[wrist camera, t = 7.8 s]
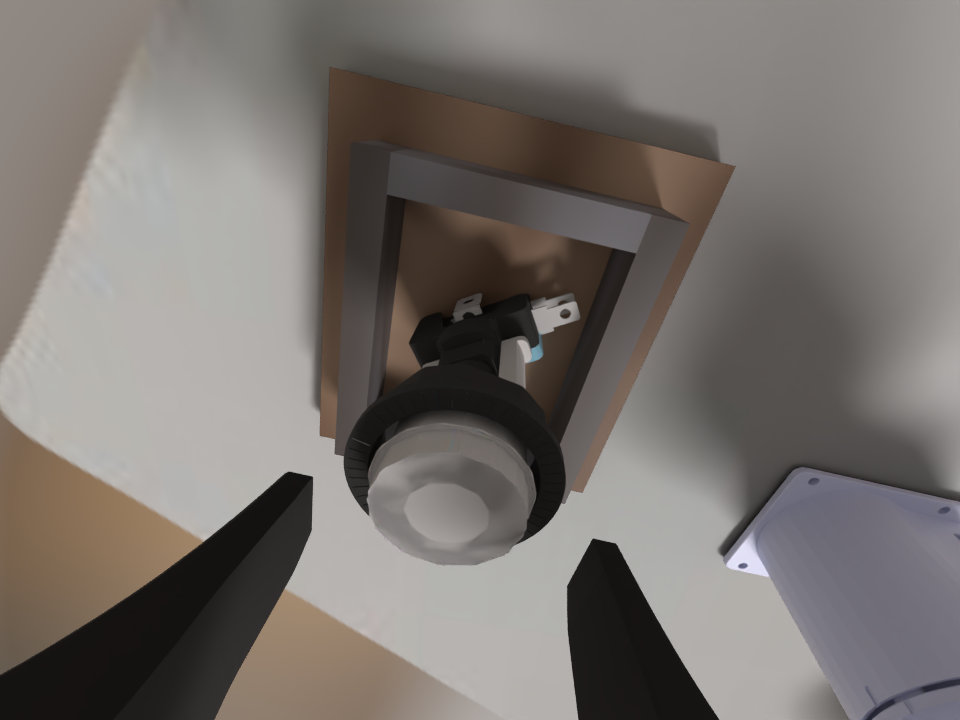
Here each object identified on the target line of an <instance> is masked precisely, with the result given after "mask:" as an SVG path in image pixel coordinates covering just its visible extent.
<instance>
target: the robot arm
mask: <svg viewBox="0 0 960 720" xmlns="http://www.w3.org/2000/svg"><path fill="white" fill-rule="evenodd" d="M312 496H313V477H311V476H307V475H302V474H298V473H293V472H287V473H285V474H284V475H283V476H282V477H280V478H279V479H278V480H277V481H276V482H275V483H274V484H273V485H271V486H270V487H269V488H268V489H267V490H266V491H265V492H264V493H262V494H261V495H260V496H259V497H258V498H257V499H256V500H254V501H253V502H252V503H251V504H250V505H248V506H247V507H246V508H245V509H244V510H243V511H241V512H240V513H239V514H238V515H237V516H235V517H234V518H233V519H232V520H230V521H229V522H228V523H227V524H226V525H224V526H223V527H222V528H221V529H219V530H218V531H217V532H216V533H214V534H213V535H212V536H211V537H209V538H208V539H207V540H206V541H204V542H203V543H202V544H201V545H199V546H198V547H197V548H195V549H194V550H193V551H191V552H190V553H188V554H187V555H186V556H184V557H183V558H182V559H181V560H179V561H178V562H176V563H175V564H174V565H172V566H171V567H170V568H168V569H167V570H166V571H164V572H163V573H162V574H160V575H159V576H158V577H156V578H155V579H153V580H152V581H150V582H149V583H147V584H146V585H145V586H143V587H142V588H140V589H139V590H137V591H136V592H134V593H133V594H131V595H130V596H129V597H127V598H125V599H124V600H123V601H121V602H119V603H118V604H117V605H115V606H114V607H112V608H110V609H109V610H107V611H106V612H104V613H103V614H101V615H100V616H98V617H96V618H95V619H93V620H92V621H90V622H89V623H87V624H85V625H84V626H82V627H81V628H79V629H77V630H76V631H74V632H73V633H71V634H69V635H67V636H66V637H64V638H63V639H61V640H60V641H58V642H56V643H55V644H53V645H51V646H50V647H48V648H46V649H45V650H43V651H41V652H40V653H38V654H36V655H35V656H33V657H31V658H29V659H28V660H26V661H24V662H23V663H21V664H19V665H17V666H16V667H14V668H12V669H10V670H8V671H7V672H5V673H3V674H1V675H0V720H214V719H215V717H216V715H217V713H218V711H219V709H220V707H221V704H222V702H223V700H224V698H225V696H226V694H227V692H228V689H229V688H230V686H231V684H232V682H233V680H234V678H235V676H236V674H237V672H238V670H239V668H240V667H241V665H242V663H243V661H244V659H245V658H246V656H247V654H248V653H249V651H250V649H251V647H252V645H253V644H254V642H255V640H256V638H257V637H258V635H259V633H260V631H261V629H262V628H263V626H264V624H265V622H266V620H267V619H268V617H269V615H270V613H271V612H272V610H273V608H274V606H275V605H276V603H277V601H278V599H279V597H280V596H281V594H282V592H283V590H284V588H285V587H286V585H287V583H288V581H289V579H290V578H291V576H292V574H293V572H294V570H295V568H296V566H297V563H298V561H299V559H300V556H301V554H302V552H303V550H304V547H305V545H306V542H307V540H308V538H309V535H310V533H311V531H312ZM723 561H724V563H725V565H726V567H727V568H730V569H734V570H739V571H743V572H748V573H753V574H757V575H762V576H767V577H770V578H771V580H772V582H773V583H774V585H775V587H776V589H777V591H778V592H779V594H780V596H781V598H782V600H783V601H784V603H785V605H786V607H787V609H788V610H789V612H790V614H791V616H792V618H793V619H794V621H795V623H796V625H797V626H798V628H799V630H800V632H801V634H802V635H803V637H804V639H805V641H806V643H807V644H808V646H809V648H810V650H811V652H812V653H813V655H814V657H815V659H816V661H817V662H818V664H819V666H820V668H821V669H822V671H823V673H824V675H825V677H826V678H827V680H828V682H829V684H830V686H831V687H832V689H833V691H834V693H835V695H836V696H837V698H838V700H839V702H840V704H841V705H842V707H843V709H844V711H845V712H846V714H847V716H848V718H849V720H960V502H958V501H954V500H949V499H945V498H940V497H936V496H931V495H927V494H922V493H918V492H914V491H909V490H905V489H900V488H896V487H891V486H887V485H882V484H878V483H873V482H869V481H864V480H860V479H855V478H851V477H846V476H842V475H837V474H833V473H828V472H824V471H820V470H815V469H811V468H806V467H800V468H797V469H795V470H793V471H792V472H791V473H790V475H789V476H788V477H787V478H786V480H785V481H784V482H783V483H782V485H781V486H780V487H779V488H778V490H777V491H776V492H775V493H774V495H773V496H772V497H771V499H770V500H769V501H768V502H767V504H766V505H765V506H764V507H763V509H762V510H761V511H760V512H759V514H758V515H757V516H756V517H755V519H754V520H753V521H752V523H751V524H750V525H749V526H748V528H747V529H746V530H745V531H744V533H743V534H742V535H741V536H740V538H739V539H738V540H737V541H736V543H735V544H734V545H733V547H732V548H731V549H730V550H729V552H728V553H727V554H726V555H725V557H724V558H723ZM567 617H568V636H569V645H570V654H571V662H572V671H573V679H574V687H575V695H576V703H577V711H578V719H579V720H719V719H718V717H717V716H716V714H715V713H714V711H713V710H712V708H711V707H710V705H709V704H708V702H707V701H706V699H705V697H704V696H703V694H702V693H701V691H700V690H699V688H698V687H697V685H696V683H695V682H694V680H693V679H692V677H691V675H690V674H689V672H688V671H687V669H686V667H685V666H684V664H683V663H682V661H681V659H680V658H679V656H678V654H677V653H676V651H675V649H674V648H673V646H672V644H671V642H670V641H669V639H668V637H667V635H666V634H665V632H664V630H663V629H662V627H661V625H660V623H659V622H658V620H657V618H656V616H655V615H654V613H653V611H652V609H651V607H650V606H649V604H648V602H647V600H646V598H645V596H644V595H643V593H642V591H641V589H640V587H639V585H638V584H637V582H636V580H635V578H634V576H633V574H632V572H631V570H630V569H629V567H628V565H627V563H626V561H625V559H624V557H623V555H622V553H621V552H620V550H619V548H618V546H617V545H616V544H615V543H611V542H606V541H602V540H597V539H592V541H591V543H590V545H589V547H588V548H587V550H586V552H585V554H584V556H583V558H582V560H581V561H580V563H579V565H578V567H577V569H576V571H575V573H574V574H573V576H572V578H571V580H570V582H569V584H568V586H567Z"/></svg>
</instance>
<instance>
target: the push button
mask: <svg viewBox="0 0 960 720" xmlns="http://www.w3.org/2000/svg"><path fill="white" fill-rule="evenodd" d="M482 296H483V295H482V293H478V294H475V295H472V296H469V297H466V298H463V299H461V300H459V301H457V304H456V306H455V309H454V313H453V316H452V317H449V318H446V319H444V317H443V315H442V313H440V312H438V313H434V314H431V315H428V316H426V317H424V318H422V319H421V320H420V322H419V324H418V325H417V327H416V329H415V331H414V333H413V335H412V337H411V339H410V341H409V345H410V347H411V349H412V351H413V353H414V355H415V357H416V359H417V361H418V363H419V365H420V367H421V369H420V370H419V371H418V372H416V373H415V374H413V375H412V376H410V377H409V378H408V379H406V380H405V381H403V382H402V383H400V384H399V385H397V386H396V387H395V388H393V389H392V390H390V391H389V392H387V393H386V394H385V395H383V396H381V397H380V398H378V399H377V400H376V401H375V402H373V403H372V404H371V405H370V406H369V407H368V408H367V409H366V410H365V411H364V412H363V413H362V415H361V416H360V418H359V419H358V421H357V422H356V424H355V426H354V428H353V430H352V432H351V434H350V436H349V438H348V440H347V443H346V447H345V452H344V471H345V476H346V480H347V483H348V485H349V488H350V490H351V492H352V494H353V496H354V498H355V499H356V501H357V502H358V504H359V505H360V506H361V508H362V509H363V510H364V511H365V512H366V513H367V514H368V515H369V517H370V518H371V520H372V521H373V523H374V525H375V528H376V529H377V530H378V531H379V532H380V533H381V534H382V536H383V537H384V539H385V540H386V541H388V542H390V543H391V544H393V545H394V546H396V547H397V548H398V549H399V550H400V551H401V552H403V553H406V554H408V555H409V556H411V557H414V558H418V559H421V560H425V561H428V562H431V563H434V564H437V565H443V566H456V565H478V564H481V563H484V562H486V561H489V560H492V559H495V558H498V557H501V556H504V555H505V554H506V553H508V552H509V551H510V550H511V548H512V547H513V546H514V545H516V544H518V543H520V542H523V541H525V540H527V539H528V538H530V537H532V536H533V535H535V534H536V533H537V532H539V531H540V530H541V529H542V528H543V527H545V526H546V525H547V524H548V523H549V521H550V520H551V519H552V518H553V517H554V515H555V513H556V512H557V510H558V509H559V506H560V504H561V502H562V499H563V496H564V493H565V486H566V473H565V466H564V458H563V454H562V450H561V447H560V445H559V442H558V440H557V438H556V436H555V434H554V433H553V431H552V429H551V428H550V427H549V426H548V424H547V423H546V415H545V412H544V410H543V409H542V408H541V407H540V406H539V404H538V403H537V402H536V401H535V400H534V399H533V397H532V396H531V395H530V394H529V393H528V392H527V390H526V386H525V363H529V362H533V361H536V360H538V359H540V358H541V357H543V346H542V337H541V335H542V334H546V333H549V332H552V331H554V329H553V327H557V326H560V325H564V324H567V323H570V322H574V321H577V320H579V319H580V314H579V310H578V306H577V303H576V301H575V297H574V294H573V293H571V292H570V293H567V294H564V295H560V296H557V297H554V298H551V299H548V300H546V299H545V297H542V298H539V299H536V300H533V301H531V300H530V297H529V294H526V293H525V294H518V295H515V296H512V297H510V298H508V299H505V300H502V301H499V302H496V303H493V304H489V305H486V306H483V307H480V304H481V300H482ZM469 300H473V301H471V302H469V303H466V304H464V303H465V302H467V301H469ZM562 300H565V301H567V303H564V304H561V305H558V303H559V302H560V301H562ZM570 312H571V314H570V316H569V317H568V318H562V317H561V316H560V315H564V314H567V313H570ZM399 420H400V421H399ZM397 421H399V423H398V426H397V428H396V430H395V433H394V435H393V438H391V439H390V440H389V441H387V442H386V436H385V430H386V429H387V428H388V427H390V426H391V425H392V424H394V423H396V422H397ZM527 447H528V448H529V449H530V451H531V452H532V454H533V456H534V457H535V458H534V461H533V463H532V464H531V466H530V467H529V466H528V465H527Z"/></svg>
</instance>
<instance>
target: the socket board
mask: <svg viewBox="0 0 960 720" xmlns="http://www.w3.org/2000/svg"><path fill="white" fill-rule="evenodd" d="M735 167H736V166H732V165H728V164H724V163H720V162H716V161H712V160H708V159H703V158H699V157H695V156H691V155H687V154H683V153H679V152H675V151H671V150H667V149H663V148H659V147H655V146H650V145H646V144H642V143H638V142H634V141H630V140H626V139H622V138H618V137H614V136H610V135H606V134H601V133H597V132H593V131H589V130H585V129H581V128H577V127H573V126H569V125H565V124H561V123H557V122H553V121H548V120H544V119H540V118H536V117H532V116H528V115H524V114H520V113H516V112H512V111H508V110H504V109H499V108H495V107H491V106H487V105H483V104H479V103H475V102H471V101H467V100H463V99H459V98H455V97H451V96H446V95H442V94H438V93H434V92H430V91H426V90H422V89H418V88H414V87H410V86H406V85H402V84H397V83H393V82H389V81H385V80H381V79H377V78H373V77H369V76H365V75H361V74H357V73H353V72H348V71H344V70H340V69H336V68H332V67H330V77H329V114H328V150H327V187H326V223H325V260H324V296H323V333H322V369H321V406H320V436H323V437H328V438H333V439H335V454H336V455H341V456H344V452H345V447H346V443H347V440H348V438H349V436H350V434H351V432H352V430H353V428H354V426H355V424H356V422H357V421H358V419H359V418H360V416H361V415H362V413H363V412H364V411H365V410H366V409H367V408H368V407H369V406H370V405H371V404H372V403H373V402H375V401H376V400H377V399H378V398H380V397H381V396H383V395H385V394H386V393H387V392H389V391H390V390H392V389H393V388H395V387H396V386H397V385H399V384H400V383H402V382H403V381H405V380H406V379H408V378H409V377H410V376H412V375H413V374H415V373H416V372H418V371H419V370H420V369H421V367H420V365H419V363H418V361H417V359H416V357H415V355H414V353H413V351H412V349H411V347H410V345H409V341H410V339H411V337H412V335H413V333H414V331H415V329H416V327H417V325H418V324H419V322H420V320H421V319H422V318H424V317H426V316H428V315H431V314H434V313H438V312H440V313H442V315H443V317H444V319H446V318H449V317H452V316H453V313H454V309H455V306H456V304H457V301H459V300H461V299H463V298H466V297H469V296H472V295H475V294H478V293H482V295H483V296H482V300H481V304H480V307H483V306H486V305H489V304H493V303H496V302H499V301H502V300H505V299H508V298H510V297H512V296H515V295H518V294H525V293H526V294H529V297H530V300H531V301H533V300H536V299H539V298H542V297H545V299H546V300H548V299H551V298H554V297H557V296H560V295H564V294H567V293H570V292H571V293H573V294H574V297H575V301H576V303H577V306H578V310H579V314H580V319H579V320H577V321H574V322H570V323H567V324H564V325H560V326H557V327H553V329H554V331H552V332H549V333H546V334H542V335H541V337H542V346H543V357H541V358H540V359H538V360H536V361H533V362H529V363H525V386H526V390H527V392H528V393H529V394H530V395H531V396H532V397H533V399H534V400H535V401H536V402H537V403H538V404H539V406H540V407H541V408H542V409H543V410H544V412H545V415H546V423H547V424H548V426H549V427H550V428H551V429H552V431H553V433H554V434H555V436H556V438H557V440H558V442H559V445H560V447H561V450H562V454H563V458H564V466H565V473H566V486H565V493H564V496H563V499H562V502H561V503H563V504H565V502H566V500H567V498H568V495H569V493H570V491H571V490H572V491H576V492H581V493H583V490H584V488H585V486H586V484H587V482H588V480H589V478H590V476H591V473H592V471H593V469H594V467H595V465H596V463H597V461H598V459H599V456H600V454H601V452H602V450H603V448H604V446H605V444H606V441H607V439H608V437H609V435H610V433H611V431H612V429H613V427H614V424H615V422H616V420H617V418H618V416H619V414H620V412H621V410H622V407H623V405H624V403H625V401H626V399H627V397H628V395H629V393H630V390H631V388H632V386H633V384H634V382H635V380H636V378H637V375H638V373H639V371H640V369H641V367H642V365H643V363H644V361H645V358H646V356H647V354H648V352H649V350H650V348H651V346H652V344H653V341H654V339H655V337H656V335H657V333H658V331H659V329H660V326H661V324H662V322H663V320H664V318H665V316H666V314H667V312H668V309H669V307H670V305H671V303H672V301H673V299H674V297H675V295H676V292H677V290H678V288H679V286H680V284H681V282H682V280H683V278H684V275H685V273H686V271H687V269H688V267H689V265H690V263H691V260H692V258H693V256H694V254H695V252H696V250H697V248H698V246H699V243H700V241H701V239H702V237H703V235H704V233H705V231H706V229H707V226H708V224H709V222H710V220H711V218H712V216H713V214H714V211H715V209H716V207H717V205H718V203H719V201H720V199H721V197H722V194H723V192H724V190H725V188H726V186H727V184H728V182H729V180H730V177H731V175H732V173H733V171H734V169H735ZM471 301H473V300H469V301H467V302H465V303H464V304H466V303H469V302H471ZM564 303H567V301H565V300H562V301H560V302H559V303H558V305H561V304H564ZM570 314H571V312H570V313H567V314H564V315H560V316H561V317H562V318H568V317H569V316H570ZM399 421H400V420H399ZM399 421H397V422H396V423H394V424H392V425H391V426H390V427H388V428H387V429H386V430H385V436H386V442H387V441H389V440H390V439H391V438H393V435H394V433H395V430H396V428H397V426H398V423H399ZM534 458H535V457H534V456H533V454H532V452H531V451H530V449H529V448H528V447H527V465H528V466H529V467H530V466H531V464H532V463H533V461H534Z"/></svg>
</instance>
